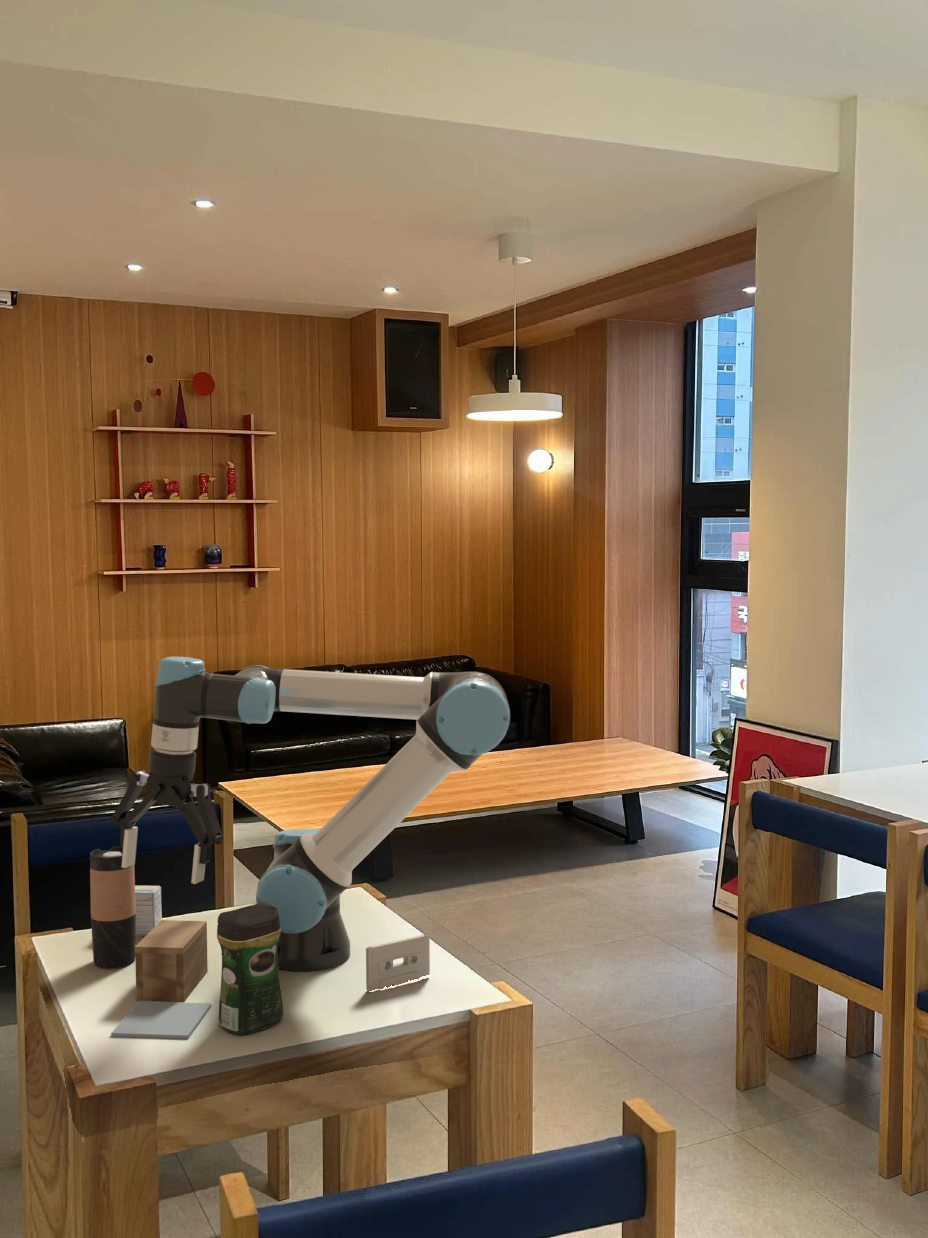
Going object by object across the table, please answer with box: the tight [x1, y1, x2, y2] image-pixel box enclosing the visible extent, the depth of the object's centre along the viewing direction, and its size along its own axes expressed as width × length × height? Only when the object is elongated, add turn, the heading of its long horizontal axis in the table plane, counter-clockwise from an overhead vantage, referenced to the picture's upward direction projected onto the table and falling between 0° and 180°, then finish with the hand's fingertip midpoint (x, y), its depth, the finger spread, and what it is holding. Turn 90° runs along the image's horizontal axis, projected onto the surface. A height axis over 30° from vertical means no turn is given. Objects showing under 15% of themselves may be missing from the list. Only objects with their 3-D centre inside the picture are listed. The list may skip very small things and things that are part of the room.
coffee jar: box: [216, 902, 284, 1035], centre depth 179 cm, size 10×8×19 cm
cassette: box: [365, 933, 431, 992], centre depth 195 cm, size 12×2×8 cm, turn 123°
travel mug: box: [89, 845, 137, 970], centre depth 205 cm, size 8×8×20 cm
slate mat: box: [110, 1000, 212, 1040], centre depth 181 cm, size 12×12×1 cm
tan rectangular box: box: [134, 919, 209, 1003], centre depth 195 cm, size 8×13×9 cm, turn 176°
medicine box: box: [135, 885, 163, 937], centre depth 221 cm, size 8×4×9 cm, turn 88°
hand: (162, 874), depth 194 cm, fingers open, 13 cm apart
